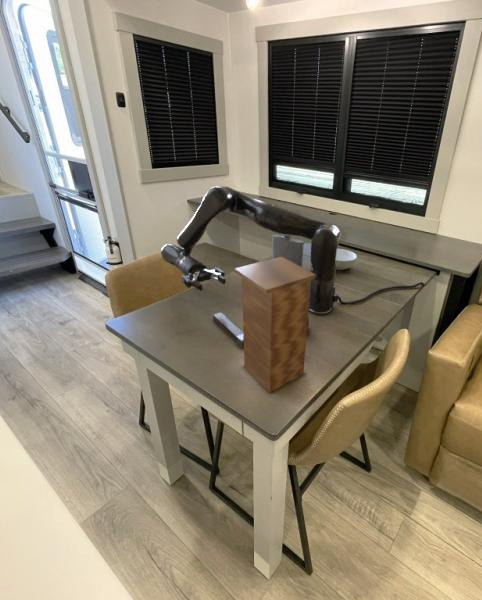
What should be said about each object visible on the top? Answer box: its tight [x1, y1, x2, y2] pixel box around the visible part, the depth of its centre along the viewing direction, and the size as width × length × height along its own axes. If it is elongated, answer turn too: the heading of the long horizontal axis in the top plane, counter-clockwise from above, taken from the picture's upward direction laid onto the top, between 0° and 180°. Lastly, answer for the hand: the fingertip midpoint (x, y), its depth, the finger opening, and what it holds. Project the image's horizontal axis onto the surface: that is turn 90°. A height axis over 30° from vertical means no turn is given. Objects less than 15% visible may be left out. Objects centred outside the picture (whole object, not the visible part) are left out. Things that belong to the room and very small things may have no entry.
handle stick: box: [212, 312, 244, 350], centre depth 112 cm, size 4×20×3 cm, turn 41°
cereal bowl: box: [336, 248, 358, 271], centre depth 167 cm, size 17×17×7 cm
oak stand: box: [233, 257, 316, 393], centre depth 90 cm, size 15×14×32 cm
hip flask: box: [271, 234, 305, 268], centre depth 152 cm, size 16×4×20 cm, turn 62°
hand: (213, 284), depth 113 cm, fingers open, 8 cm apart
